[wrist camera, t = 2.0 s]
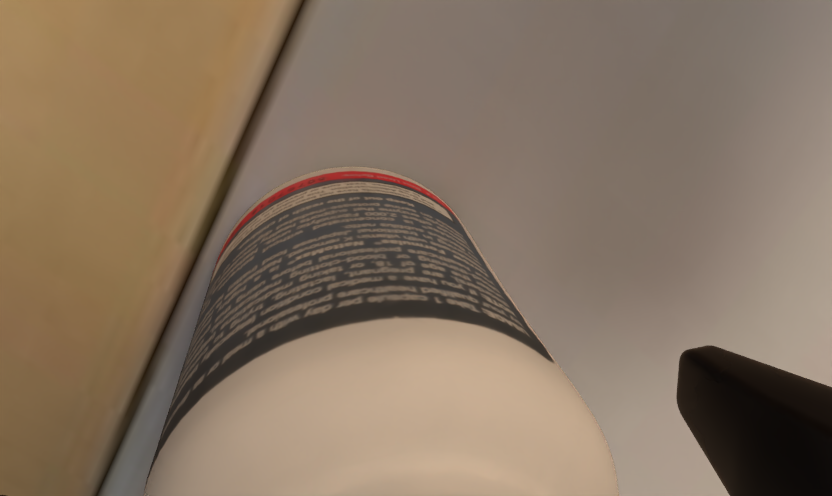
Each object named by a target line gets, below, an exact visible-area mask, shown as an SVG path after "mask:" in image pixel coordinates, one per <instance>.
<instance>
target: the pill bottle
mask: <svg viewBox="0 0 832 496" xmlns="http://www.w3.org/2000/svg"><path fill="white" fill-rule="evenodd" d="M143 496H619V492H618V485H617V477H616V472H615V467H614V463H613V458H612V455H611V452H610V450H609V447H608V444H607V442H606V439H605V437H604V435H603V432H602V431H601V429H600V427H599V425H598V423H597V421H596V420H595V418H594V416H593V414H592V413H591V411H590V410H589V408H588V407H587V405H586V404H585V402H584V401H583V399H582V397H581V396H580V394H579V393H578V391H577V390H576V389H575V387H574V386H573V384H572V383H571V382H570V380H569V379H568V378H567V376H566V375H565V373H564V372H563V371H562V369H561V368H560V366H559V365H558V364H557V362H556V361H555V360H554V358H553V357H552V355H551V354H550V353H549V351H548V350H547V348H546V347H545V346H544V344H543V343H542V342H541V340H540V339H539V337H538V336H537V335H536V333H535V332H534V330H533V329H532V328H531V326H530V325H529V323H528V322H527V320H526V319H525V318H524V316H523V315H522V313H521V312H520V311H519V309H518V308H517V306H516V305H515V304H514V302H513V300H512V299H511V297H510V296H509V294H508V293H507V292H506V290H505V289H504V287H503V285H502V284H501V282H500V281H499V279H498V278H497V276H496V275H495V273H494V271H493V270H492V268H491V267H490V265H489V264H488V262H487V261H486V259H485V258H484V256H483V254H482V253H481V251H480V250H479V248H478V246H477V245H476V243H475V242H474V240H473V238H472V237H471V235H470V234H469V232H468V230H467V229H466V227H465V226H464V225H463V223H462V222H461V220H460V219H459V218H458V217H457V215H456V214H455V213H454V212H453V210H452V209H451V208H450V207H449V206H448V205H447V204H446V203H445V202H444V201H443V200H442V199H441V198H439V197H438V196H437V195H436V194H435V193H433V192H432V191H431V190H429V189H427V188H426V187H424V186H423V185H421V184H419V183H418V182H416V181H414V180H412V179H409V178H407V177H405V176H402V175H400V174H396V173H393V172H390V171H386V170H381V169H375V168H369V167H336V168H329V169H324V170H319V171H315V172H312V173H308V174H305V175H302V176H299V177H297V178H294V179H292V180H290V181H288V182H286V183H284V184H282V185H280V186H278V187H276V188H275V189H273V190H272V191H270V192H269V193H267V194H266V195H265V196H263V197H262V198H260V199H259V200H258V201H257V202H256V203H255V204H254V205H253V206H251V207H250V208H249V209H248V210H247V212H246V213H245V214H244V215H243V216H242V217H241V218H240V220H239V221H238V222H237V223H236V225H235V226H234V228H233V229H232V231H231V232H230V234H229V235H228V237H227V239H226V241H225V243H224V245H223V247H222V249H221V252H220V254H219V257H218V260H217V263H216V265H215V268H214V271H213V274H212V277H211V281H210V284H209V287H208V291H207V294H206V297H205V300H204V303H203V306H202V309H201V312H200V315H199V318H198V321H197V324H196V327H195V331H194V334H193V337H192V340H191V343H190V346H189V350H188V353H187V356H186V359H185V362H184V365H183V368H182V371H181V374H180V377H179V381H178V384H177V387H176V390H175V393H174V396H173V399H172V403H171V406H170V409H169V412H168V415H167V418H166V421H165V424H164V427H163V431H162V434H161V437H160V440H159V443H158V446H157V450H156V453H155V456H154V459H153V462H152V465H151V468H150V471H149V474H148V477H147V481H146V486H145V491H144V495H143Z"/></svg>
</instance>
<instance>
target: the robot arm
mask: <svg viewBox="0 0 832 496" xmlns="http://www.w3.org/2000/svg"><path fill="white" fill-rule="evenodd" d="M677 404H678V408H679V410H680V413H681V415H682V417H683V418H684V420H685V422H686V423H687V425H688V427H689V428H690V430H691V432H692V433H693V435H694V437H695V438H696V440H697V442H698V443H699V445H700V447H701V448H702V450H703V452H704V453H705V455H706V457H707V458H708V460H709V462H710V463H711V465H712V466H713V468H714V470H715V471H716V473H717V475H718V476H719V478H720V480H721V481H722V483H723V485H724V486H725V488H726V490H727V491H728V493H729V495H730V496H832V387H829V386H827V385H824V384H821V383H818V382H815V381H812V380H809V379H807V378H804V377H801V376H798V375H795V374H792V373H790V372H787V371H784V370H781V369H778V368H775V367H772V366H770V365H767V364H764V363H761V362H758V361H755V360H753V359H750V358H747V357H744V356H741V355H738V354H735V353H733V352H730V351H727V350H724V349H721V348H718V347H715V346H703V347H698V348H693V349H689V350H686V351H684V352H683V353H682V355H681V357H680V361H679V372H678V385H677ZM0 496H6V495H0Z"/></svg>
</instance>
